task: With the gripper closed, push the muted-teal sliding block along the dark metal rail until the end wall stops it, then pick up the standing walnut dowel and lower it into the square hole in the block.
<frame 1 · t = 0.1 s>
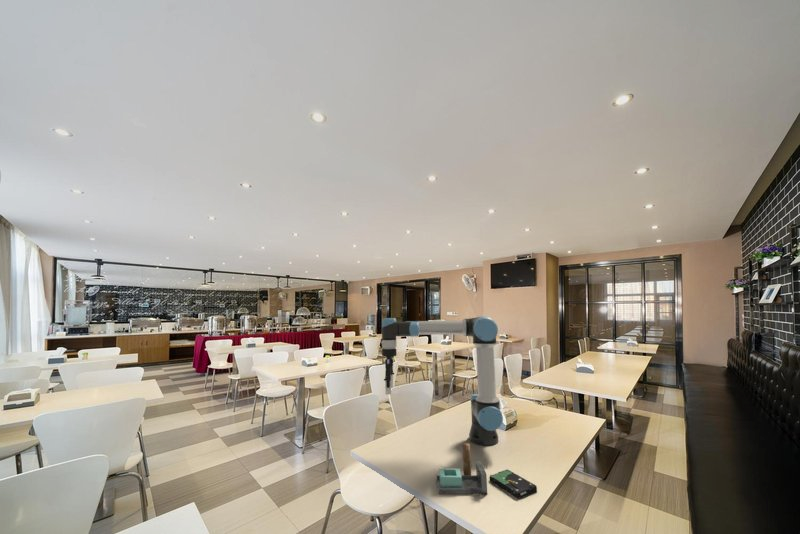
hand: (389, 391, 161), 28 cm above the table, fingers open, 13 cm apart
disk drive: (512, 488, 123), on the table
dowel: (467, 475, 132), on the table
rail base: (461, 486, 123), on the table
block: (450, 478, 123), point 3 cm above the table, slide at 4.0 cm
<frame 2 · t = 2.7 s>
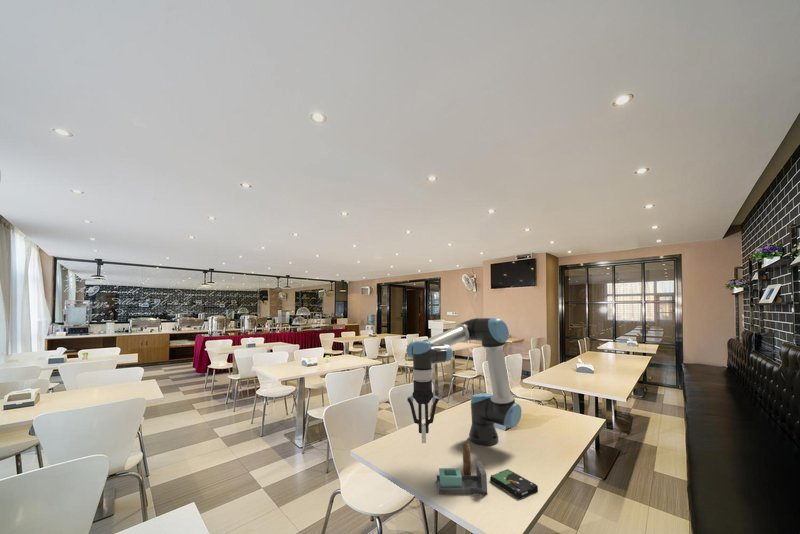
hand: (423, 441, 126), 16 cm above the table, fingers closed
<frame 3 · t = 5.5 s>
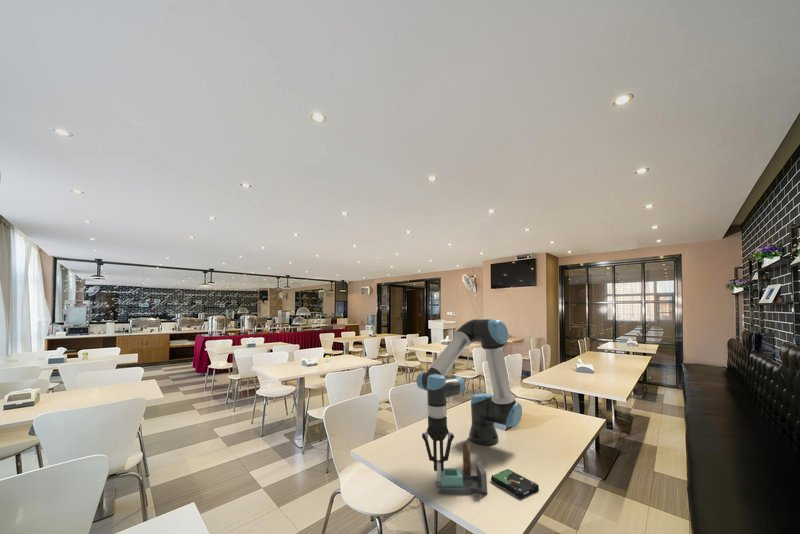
hand: (439, 479, 124), 3 cm above the table, fingers closed
block: (451, 478, 123), point 3 cm above the table, slide at 3.7 cm, touching gripper
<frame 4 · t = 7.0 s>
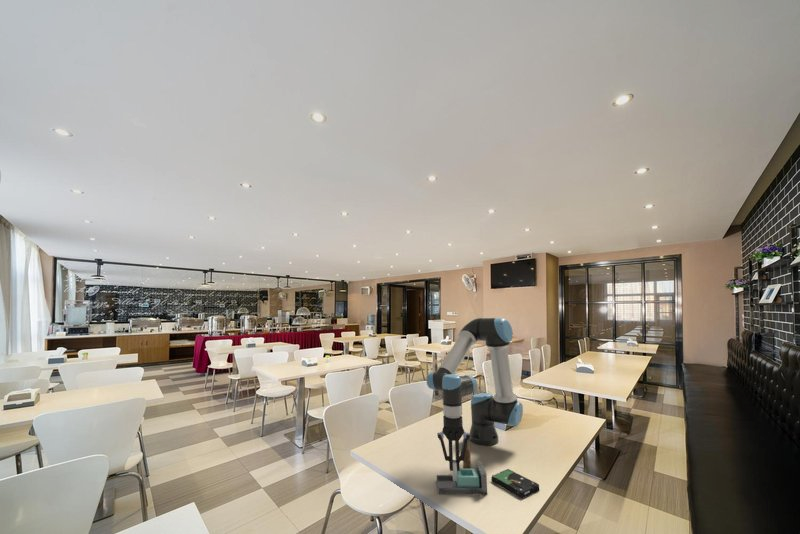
hand: (454, 479, 123), 3 cm above the table, fingers closed
block: (467, 478, 123), point 3 cm above the table, slide at -2.5 cm, touching gripper
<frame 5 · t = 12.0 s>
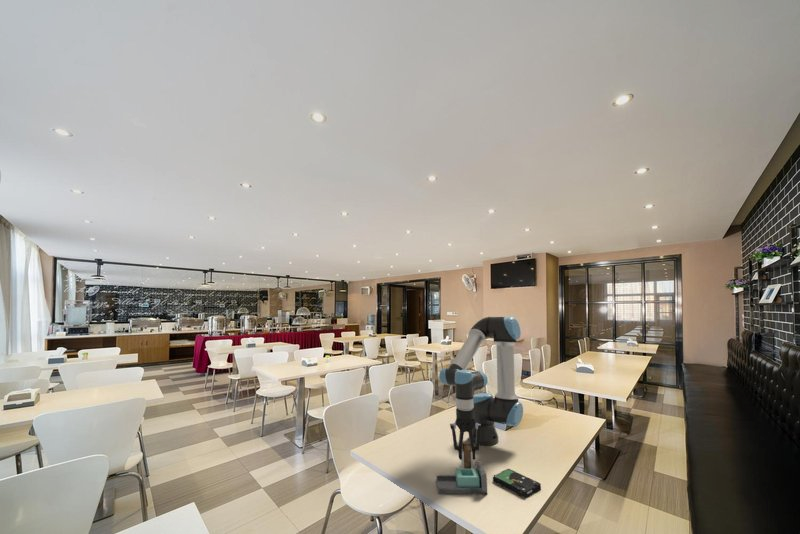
hand: (467, 467, 132), 3 cm above the table, fingers closed on dowel, 3 cm apart
dowel: (467, 475, 132), on the table, touching gripper
block: (467, 478, 123), point 3 cm above the table, slide at -2.5 cm
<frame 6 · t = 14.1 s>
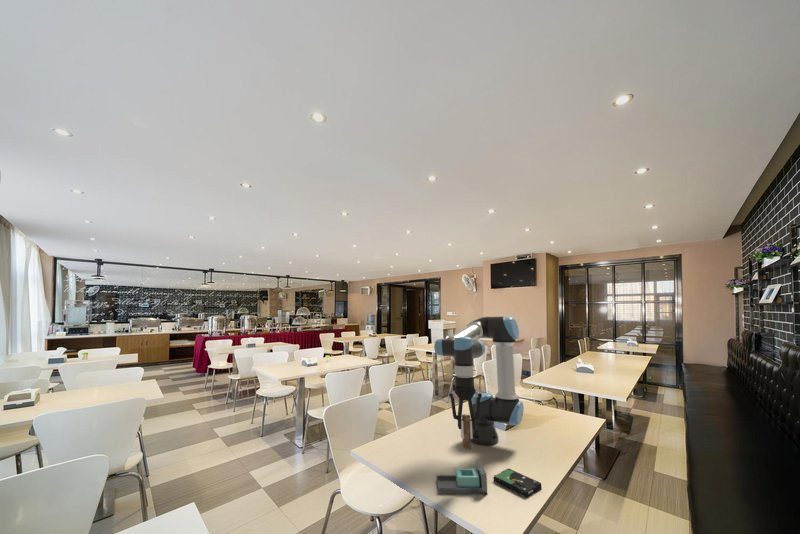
hand: (466, 437, 125), 18 cm above the table, fingers closed on dowel, 3 cm apart
dowel: (467, 447, 125), point 14 cm above the table, touching gripper
when the fingers open (6 cm above the table, at t = 16.3 s): dowel drops 2 cm, resting on rail base.
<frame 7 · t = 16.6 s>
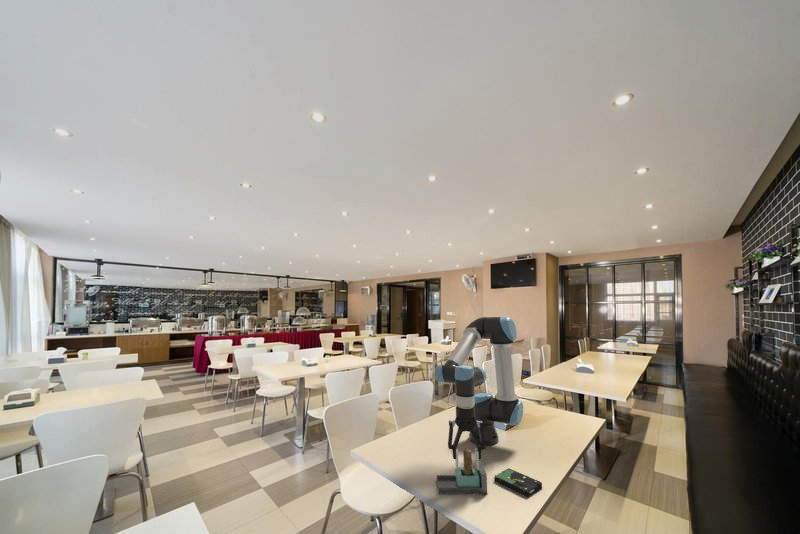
hand: (467, 467, 124), 7 cm above the table, fingers open, 7 cm apart
dowel: (468, 484, 123), point 1 cm above the table, touching rail base
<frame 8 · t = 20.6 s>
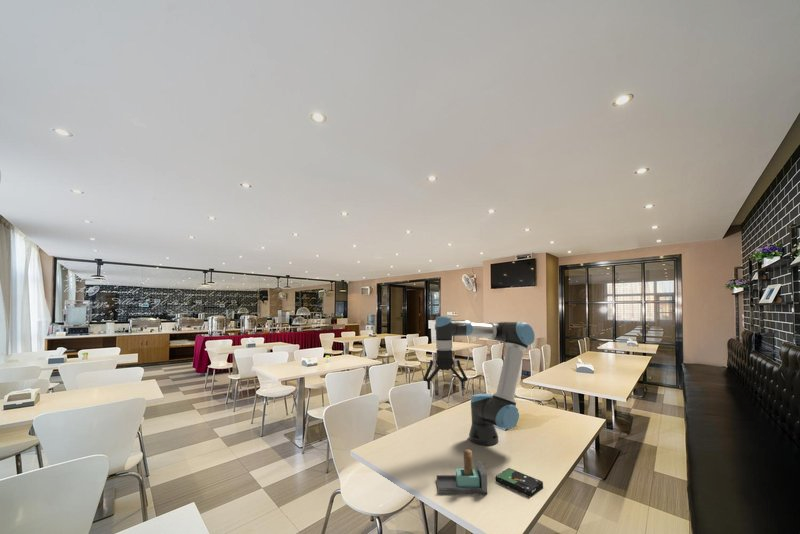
hand: (445, 396, 146), 29 cm above the table, fingers open, 13 cm apart
at the end: dowel 0.1 cm from the target spot, point 1.0 cm above the table; block slide at -2.6 cm; dowel tilted 1° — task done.
